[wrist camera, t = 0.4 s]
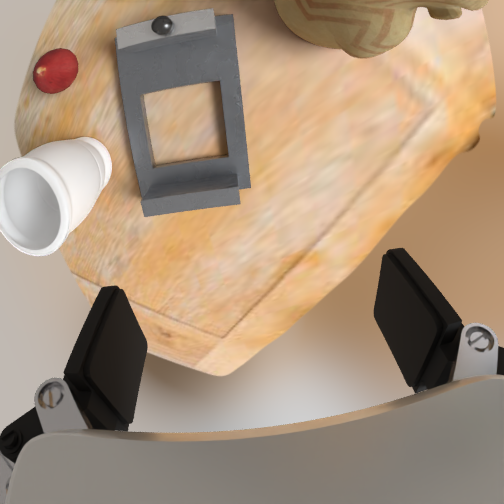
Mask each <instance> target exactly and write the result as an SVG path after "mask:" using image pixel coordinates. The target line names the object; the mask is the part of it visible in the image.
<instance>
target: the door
mask: <svg viewBox="0 0 504 504" xmlns="http://www.w3.org/2000/svg"><path fill="white" fill-rule="evenodd" d="M116 33H117V44H118V49H119V50H123V51H126V52H130V53H136V52H139V51H143V50H147V49H152V48H156V47H160V46H165V45H170V44H175V43H180V42H186V41H191V40H198V39H204V38H211V37H217V29H216V20H215V14H214V10H213V8H212V9H204V10H198V11H191V12H186V13H180V14H175V15H170V16H160V17H157V18H156V19H152V20H148V21H144V22H140V23H137V24H133V25H129V26H126V27H123V28H119V29H116Z"/></svg>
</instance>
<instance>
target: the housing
mask: <svg viewBox="0 0 504 504" xmlns="http://www.w3.org/2000/svg"><path fill="white" fill-rule="evenodd" d="M215 20H216V29H217V37H211V38H204V39H198V40H191V41H186V42H180V43H175V44H170V45H165V46H160V47H156V48H152V49H147V50H143V51H139V52H136V53H130V52H126V51H123V50H119V49H118V44H117V37H116V38H115V44H116V54H117V63H118V71H119V78H120V86H121V93H122V99H123V106H124V112H125V118H126V123H127V129H128V134H129V140H130V145H131V150H132V155H133V160H134V165H135V169H136V174H137V178H138V183H139V187H140V191H141V196H142V199H141V205H142V209H143V213H144V217H148V216H155V215H162V214H168V213H175V212H183V211H190V210H197V209H205V208H213V207H221V206H229V205H237V204H240V195H239V189H245V188H251V183H250V173H249V164H248V154H247V144H246V134H245V124H244V115H243V105H242V95H241V86H240V76H239V67H238V57H237V48H236V39H235V29H234V20H233V14H231V15H221V16H215ZM214 81H220V86H221V94H222V103H223V112H224V120H225V129H226V137H227V145H228V154H229V155H221V156H213V157H206V158H199V159H192V160H186V161H179V162H173V163H167V164H162V165H156V166H155V161H154V156H153V150H152V145H151V139H150V134H149V128H148V122H147V116H146V109H145V103H144V96H143V94H147V93H152V92H156V91H161V90H166V89H171V88H176V87H182V86H188V85H194V84H200V83H207V82H214Z"/></svg>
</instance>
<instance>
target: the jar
mask: <svg viewBox="0 0 504 504" xmlns="http://www.w3.org/2000/svg"><path fill="white" fill-rule="evenodd" d="M111 172H112V162H111V157H110V155H109V152H108V151H107V149H106V147H105V146H104V145H103V144H102V143H101V142H99V141H98V140H96V139H94V138H91V137H79V138H76V139H69V140H61V141H54V142H50V143H46V144H44V145H41V146H39V147H37V148H35V149H33V150H32V151H30V152H29V153H27V154H26V155H25V156H23V157H18V158H15V159H13V160H11V161H10V162H8V163H6V164H5V165H4V166H3V167H2V168H1V169H0V231H1V233H2V234H3V236H4V237H5V238H6V239H7V240H8V242H9V243H10V244H12V245H13V246H14V247H15V248H16V249H18V250H20V251H21V252H23V253H26V254H28V255H32V256H46V255H49V254H51V253H53V252H55V251H56V250H57V249H58V248H59V247H60V246H61V245H62V244H63V243H64V241H65V240H66V238H67V236H68V234H69V233H70V232H71V231H73V230H74V229H75V228H76V227H77V226H78V225H79V224H80V223H81V222H82V221H83V220H84V219H85V218H86V217H87V215H88V214H89V212H90V211H91V209H92V208H93V206H94V204H95V202H96V200H97V198H98V197H99V195H100V193H101V191H102V189H103V188H104V187H105V186H106V185H107V183H108V181H109V179H110V176H111Z"/></svg>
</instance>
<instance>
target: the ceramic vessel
mask: <svg viewBox="0 0 504 504" xmlns="http://www.w3.org/2000/svg"><path fill="white" fill-rule="evenodd" d="M488 1H489V0H274V2H275V6H276V9H277V11H278V14H279V16H280V17H281V19H282V20H283V22H284V23H285V24H286V26H287V27H288V28H289V29H290V30H291V31H292V32H293V33H295V34H296V35H298V36H299V37H301V38H302V39H304V40H306V41H308V42H310V43H312V44H315V45H318V46H322V47H327V48H334V49H342V50H343V51H345V52H346V53H347V54H349V55H350V56H353V57H356V58H371V57H375V56H377V55H380V54H382V53H384V52H386V51H388V50H390V49H392V48H393V47H395V46H397V45H398V44H399V43H401V42H402V41H403V40H404V39H405V38H406V37H407V35H408V34H409V32H410V30H411V28H412V25H413V21H414V17H415V13H416V10H417V7H426V8H427V9H428V12H429V14H430V16H431V17H432V18H434V19H441V20H448V19H456V18H459V17H460V16H461V15H462V11H461V8H465V9H468V10H472V11H473V10H479V9H481V8H482V7H484V6H485V5H486V4H487V3H488Z"/></svg>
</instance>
